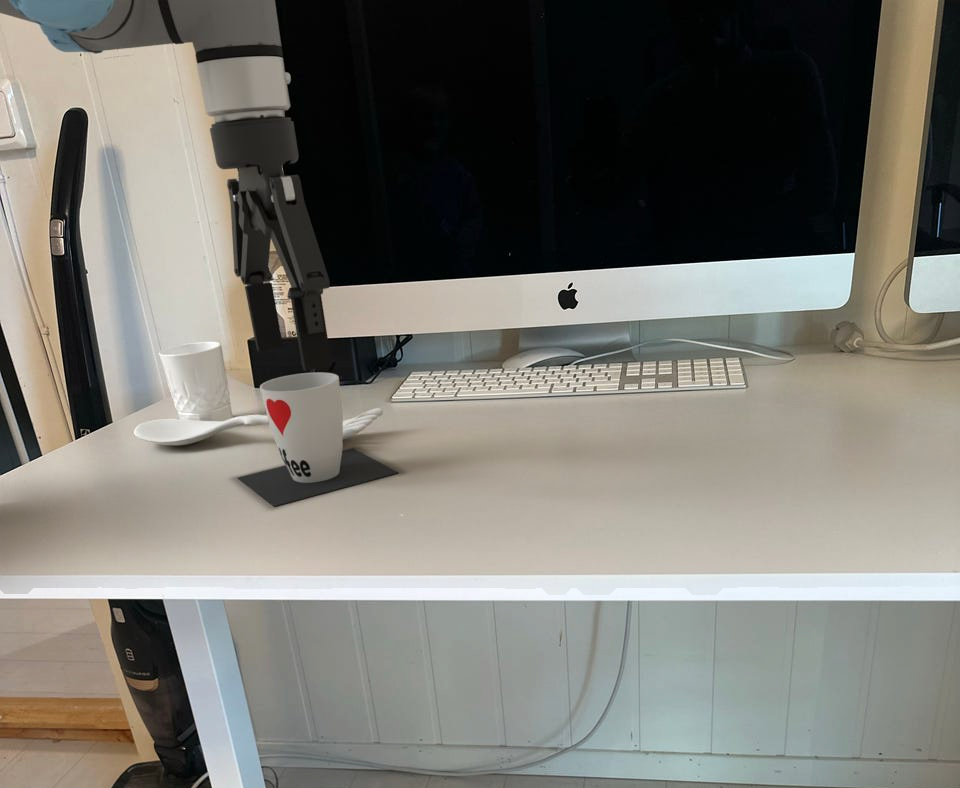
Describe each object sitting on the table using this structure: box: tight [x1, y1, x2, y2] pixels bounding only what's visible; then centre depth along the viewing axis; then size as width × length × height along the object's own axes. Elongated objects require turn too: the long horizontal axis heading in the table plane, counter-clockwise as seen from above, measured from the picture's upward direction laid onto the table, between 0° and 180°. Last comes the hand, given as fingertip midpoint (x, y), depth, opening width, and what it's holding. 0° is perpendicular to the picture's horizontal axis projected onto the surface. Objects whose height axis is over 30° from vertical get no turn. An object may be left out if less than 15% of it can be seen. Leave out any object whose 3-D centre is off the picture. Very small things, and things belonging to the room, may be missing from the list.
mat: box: [237, 448, 399, 508], centre depth 98 cm, size 14×12×1 cm
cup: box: [259, 372, 344, 483], centre depth 96 cm, size 8×8×10 cm
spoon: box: [133, 407, 384, 447], centre depth 111 cm, size 9×32×4 cm, turn 72°
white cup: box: [158, 341, 234, 421], centre depth 119 cm, size 8×8×10 cm
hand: (292, 358), depth 92 cm, fingers open, 13 cm apart
